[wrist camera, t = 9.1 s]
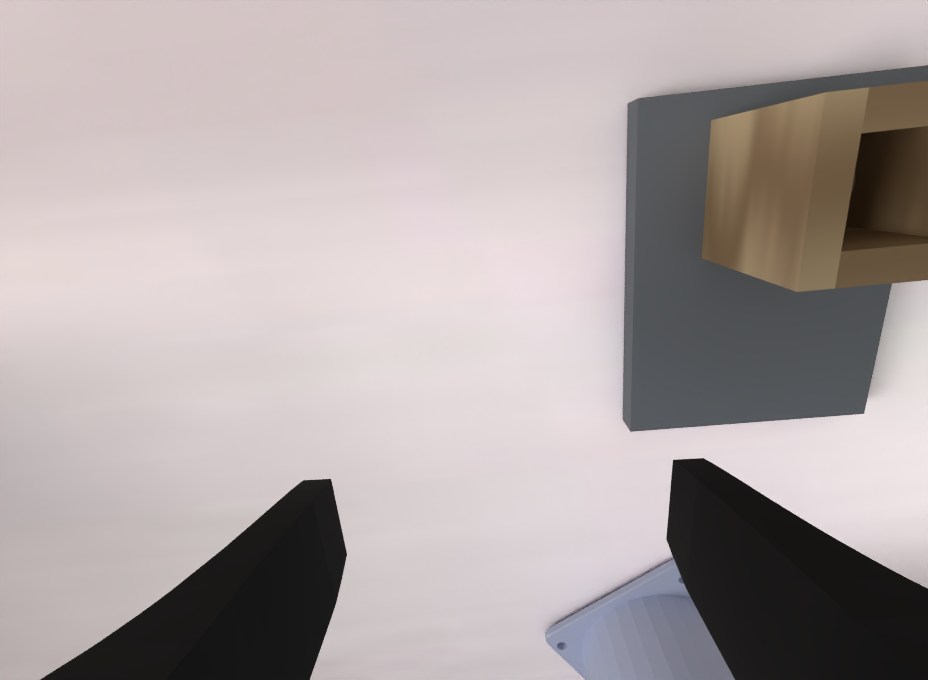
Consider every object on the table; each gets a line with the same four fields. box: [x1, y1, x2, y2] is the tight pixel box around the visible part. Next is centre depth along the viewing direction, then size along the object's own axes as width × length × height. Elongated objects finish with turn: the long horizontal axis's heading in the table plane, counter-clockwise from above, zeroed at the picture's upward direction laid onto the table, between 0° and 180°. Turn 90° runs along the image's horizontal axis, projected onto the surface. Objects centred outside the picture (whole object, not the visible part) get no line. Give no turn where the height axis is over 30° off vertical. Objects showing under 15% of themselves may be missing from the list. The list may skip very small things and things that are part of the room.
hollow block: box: [702, 81, 928, 292], centre depth 13 cm, size 4×4×5 cm
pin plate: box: [623, 65, 928, 432], centre depth 17 cm, size 12×9×1 cm
